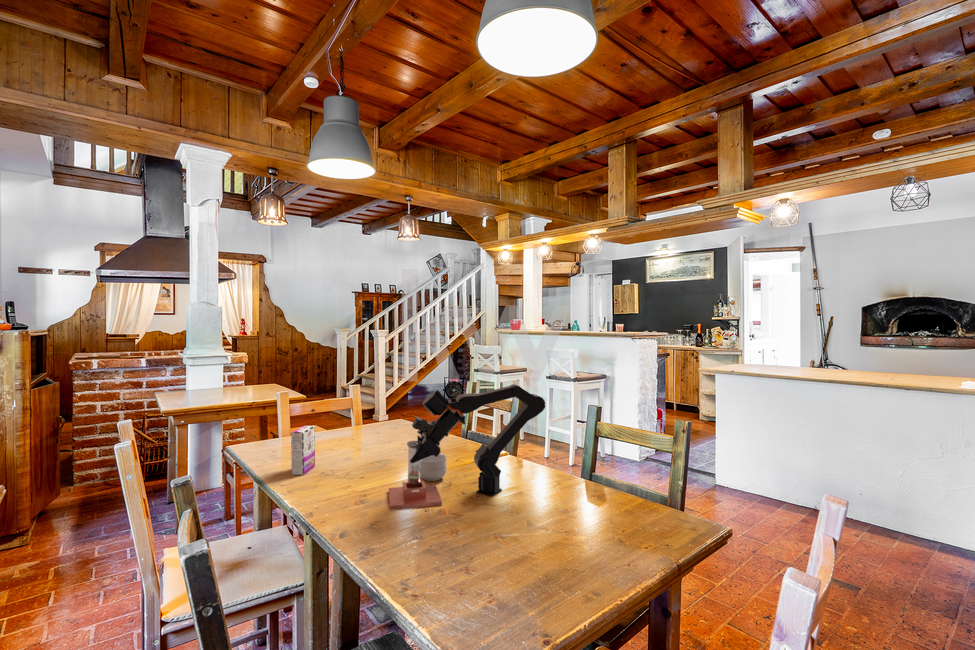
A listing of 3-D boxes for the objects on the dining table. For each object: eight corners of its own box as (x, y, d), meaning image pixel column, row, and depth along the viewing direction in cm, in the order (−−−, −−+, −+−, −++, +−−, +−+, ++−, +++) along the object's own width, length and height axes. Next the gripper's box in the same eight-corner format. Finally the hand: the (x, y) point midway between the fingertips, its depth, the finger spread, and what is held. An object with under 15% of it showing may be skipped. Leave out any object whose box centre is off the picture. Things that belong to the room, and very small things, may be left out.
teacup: (432, 485, 160) (432, 463, 160) (410, 479, 167) (411, 457, 167) (457, 475, 171) (458, 454, 172) (437, 470, 178) (437, 449, 178)
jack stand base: (435, 487, 158) (435, 475, 158) (441, 505, 143) (442, 491, 143) (388, 491, 154) (388, 479, 154) (390, 509, 139) (390, 496, 139)
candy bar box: (303, 466, 182) (303, 425, 182) (315, 466, 182) (315, 425, 182) (290, 475, 170) (290, 431, 171) (303, 475, 170) (303, 432, 170)
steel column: (420, 479, 151) (421, 440, 151) (422, 484, 147) (422, 443, 147) (406, 480, 150) (406, 441, 150) (407, 485, 146) (407, 444, 146)
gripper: (423, 404, 159) (391, 437, 156) (430, 413, 141) (393, 451, 138) (446, 425, 161) (414, 458, 158) (455, 437, 142) (419, 475, 140)
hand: (410, 460), depth 148 cm, fingers closed on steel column, 4 cm apart
